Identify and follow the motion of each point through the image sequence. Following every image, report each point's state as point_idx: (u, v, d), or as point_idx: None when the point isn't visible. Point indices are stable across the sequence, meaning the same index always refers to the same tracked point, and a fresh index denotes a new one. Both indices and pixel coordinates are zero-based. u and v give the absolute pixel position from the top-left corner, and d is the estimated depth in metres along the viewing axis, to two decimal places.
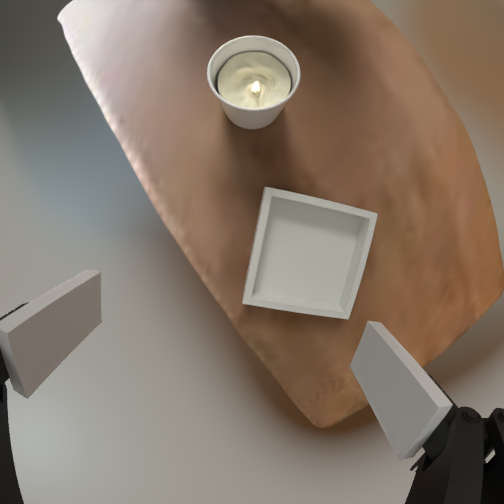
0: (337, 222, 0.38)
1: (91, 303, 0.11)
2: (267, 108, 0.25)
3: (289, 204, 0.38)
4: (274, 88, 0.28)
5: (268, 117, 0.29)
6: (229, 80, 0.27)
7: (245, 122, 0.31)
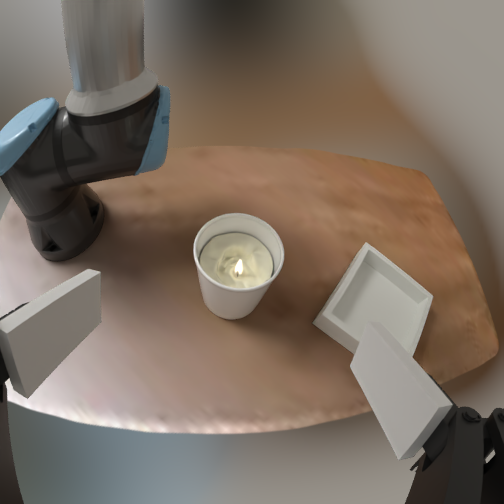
0: (360, 278, 0.43)
1: (91, 303, 0.11)
2: (283, 258, 0.29)
3: (335, 308, 0.39)
4: (249, 254, 0.34)
5: (272, 274, 0.34)
6: (220, 282, 0.31)
7: (261, 298, 0.34)
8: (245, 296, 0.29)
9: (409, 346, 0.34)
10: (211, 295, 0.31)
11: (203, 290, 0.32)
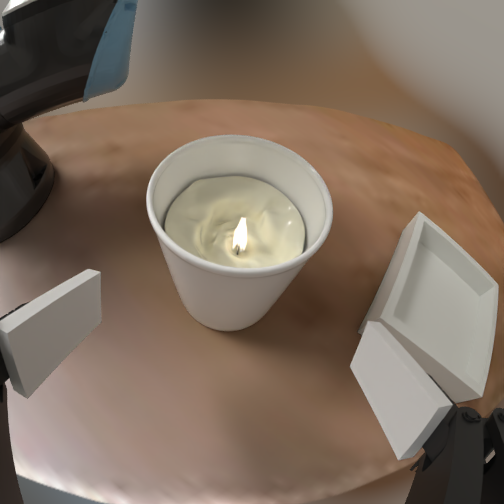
0: (414, 262, 0.27)
1: (91, 303, 0.11)
2: (331, 209, 0.14)
3: None
4: (258, 212, 0.19)
5: None
6: None
7: None
8: (256, 288, 0.13)
9: (483, 355, 0.19)
10: (186, 288, 0.15)
11: (173, 279, 0.17)
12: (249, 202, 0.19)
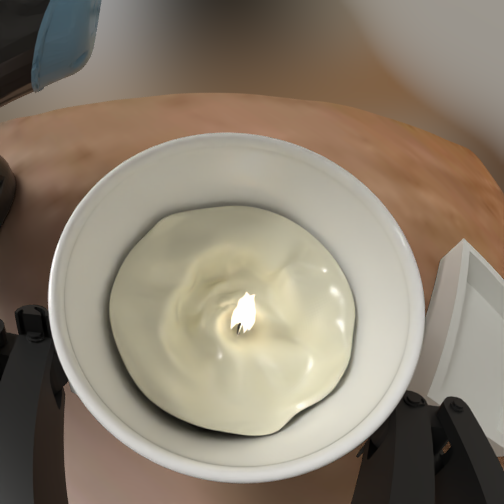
0: None
1: None
2: (421, 295, 0.06)
3: None
4: (274, 270, 0.11)
5: None
6: (181, 374, 0.08)
7: None
8: None
9: None
10: None
11: None
12: (259, 252, 0.11)
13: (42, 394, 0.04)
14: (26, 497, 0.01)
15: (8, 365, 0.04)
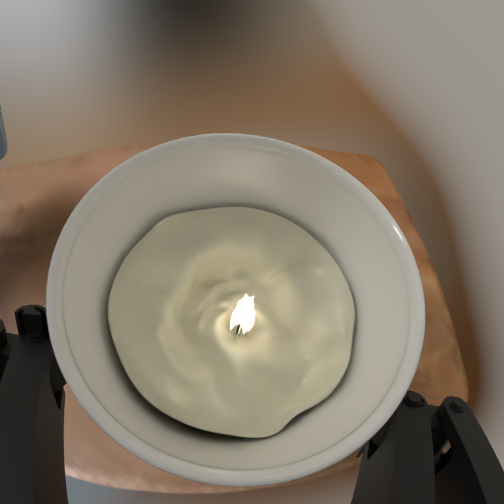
0: None
1: None
2: (422, 297, 0.06)
3: None
4: (274, 271, 0.11)
5: None
6: (180, 376, 0.08)
7: None
8: None
9: None
10: None
11: None
12: (258, 253, 0.11)
13: (42, 394, 0.04)
14: (26, 497, 0.01)
15: (8, 365, 0.04)
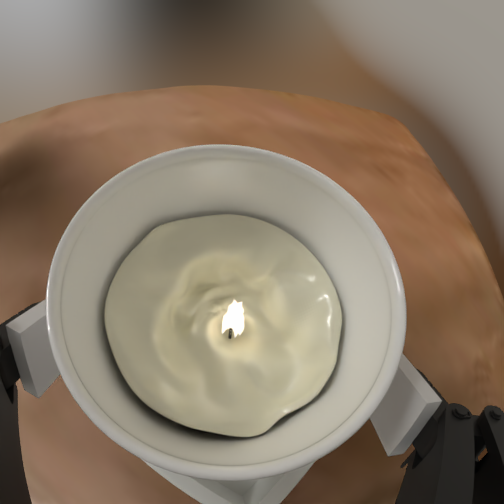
0: None
1: None
2: (404, 305, 0.07)
3: None
4: (264, 277, 0.11)
5: None
6: (172, 377, 0.08)
7: None
8: None
9: None
10: None
11: None
12: (248, 259, 0.11)
13: None
14: None
15: None
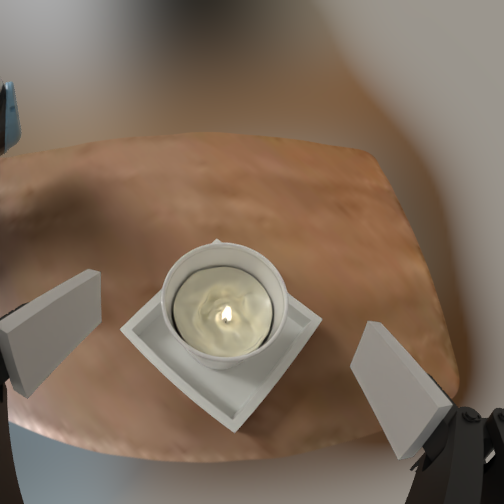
0: None
1: (91, 303, 0.11)
2: (287, 311, 0.20)
3: (158, 323, 0.30)
4: (240, 295, 0.25)
5: None
6: (201, 336, 0.22)
7: None
8: (233, 362, 0.20)
9: (255, 392, 0.25)
10: (189, 353, 0.22)
11: None
12: (234, 287, 0.25)
13: None
14: None
15: None
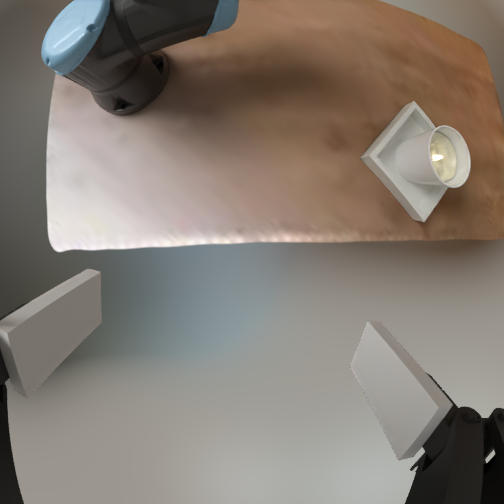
0: (404, 129, 0.41)
1: (91, 303, 0.11)
2: None
3: (380, 149, 0.42)
4: (442, 148, 0.34)
5: None
6: None
7: None
8: None
9: (433, 199, 0.42)
10: (423, 177, 0.36)
11: (414, 169, 0.37)
12: (440, 143, 0.34)
13: None
14: None
15: None
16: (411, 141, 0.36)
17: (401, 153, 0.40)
